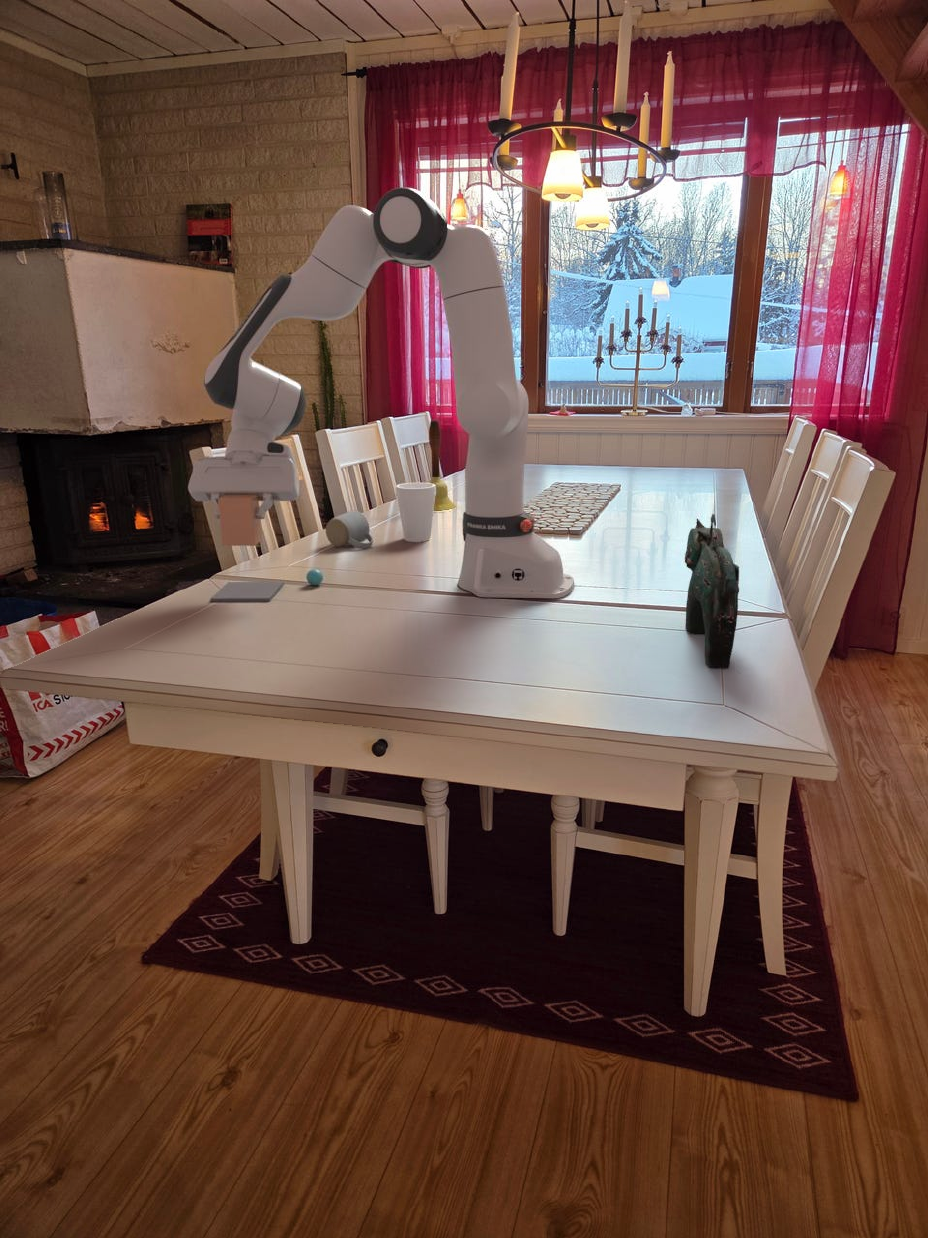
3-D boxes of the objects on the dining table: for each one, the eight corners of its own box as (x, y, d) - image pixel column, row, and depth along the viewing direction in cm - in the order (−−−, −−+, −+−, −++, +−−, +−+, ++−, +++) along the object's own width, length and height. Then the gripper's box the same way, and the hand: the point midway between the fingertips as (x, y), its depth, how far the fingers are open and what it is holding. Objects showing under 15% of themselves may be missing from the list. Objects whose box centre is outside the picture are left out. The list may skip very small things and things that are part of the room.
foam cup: (431, 544, 188) (429, 489, 184) (393, 542, 190) (391, 488, 186) (440, 535, 197) (439, 482, 193) (404, 534, 198) (402, 482, 194)
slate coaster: (284, 584, 156) (283, 581, 156) (269, 601, 146) (269, 598, 146) (228, 585, 157) (228, 582, 156) (210, 601, 146) (210, 598, 146)
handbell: (464, 506, 234) (463, 418, 226) (446, 513, 223) (444, 422, 215) (427, 503, 239) (424, 418, 231) (407, 510, 228) (404, 421, 220)
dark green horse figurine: (676, 624, 131) (686, 504, 125) (717, 625, 130) (728, 504, 124) (698, 670, 112) (710, 531, 106) (745, 671, 112) (760, 531, 105)
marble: (326, 583, 157) (325, 567, 156) (319, 587, 154) (317, 571, 153) (311, 582, 158) (310, 566, 157) (304, 586, 155) (302, 570, 154)
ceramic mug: (324, 546, 187) (322, 514, 184) (346, 539, 193) (344, 508, 191) (359, 552, 182) (358, 519, 179) (381, 545, 188) (380, 513, 186)
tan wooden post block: (262, 539, 150) (258, 494, 148) (255, 545, 146) (250, 499, 143) (230, 539, 151) (226, 494, 148) (222, 545, 146) (217, 499, 143)
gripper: (190, 446, 150) (177, 507, 143) (298, 446, 149) (290, 507, 143) (200, 467, 155) (189, 526, 149) (304, 466, 155) (297, 526, 149)
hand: (239, 517), depth 146 cm, fingers closed on tan wooden post block, 6 cm apart
